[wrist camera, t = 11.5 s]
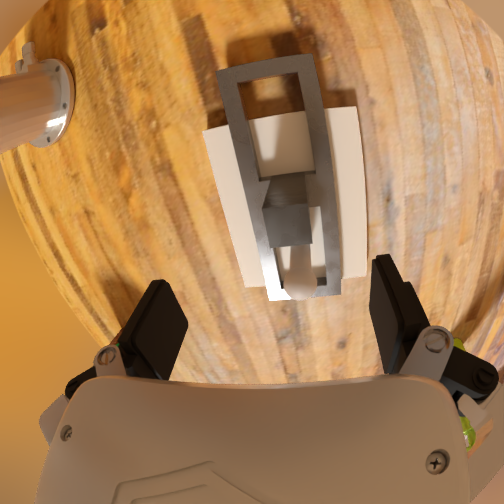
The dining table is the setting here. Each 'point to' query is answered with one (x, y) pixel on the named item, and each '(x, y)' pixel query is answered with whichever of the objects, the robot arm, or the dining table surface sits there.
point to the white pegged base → (347, 199)
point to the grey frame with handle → (285, 175)
